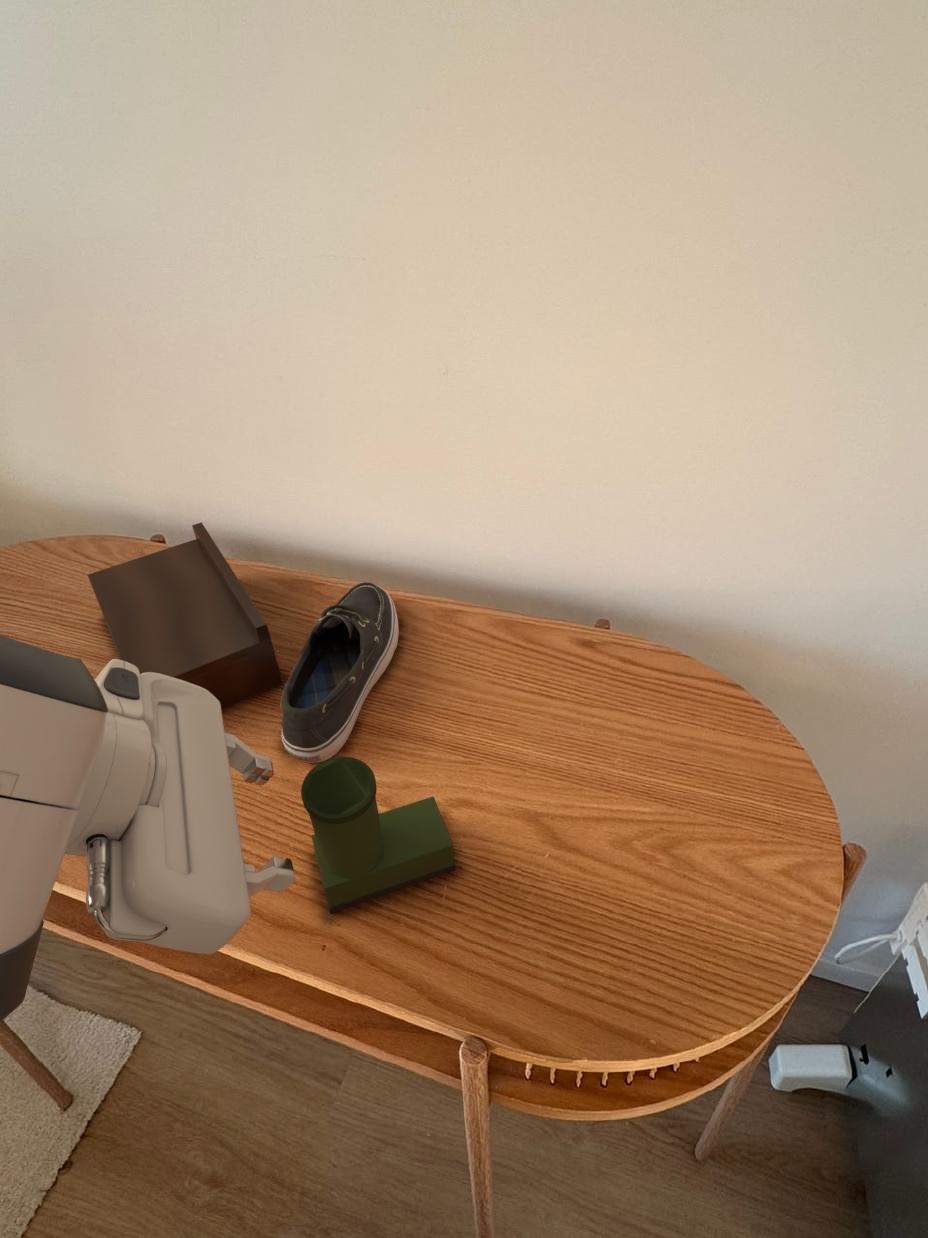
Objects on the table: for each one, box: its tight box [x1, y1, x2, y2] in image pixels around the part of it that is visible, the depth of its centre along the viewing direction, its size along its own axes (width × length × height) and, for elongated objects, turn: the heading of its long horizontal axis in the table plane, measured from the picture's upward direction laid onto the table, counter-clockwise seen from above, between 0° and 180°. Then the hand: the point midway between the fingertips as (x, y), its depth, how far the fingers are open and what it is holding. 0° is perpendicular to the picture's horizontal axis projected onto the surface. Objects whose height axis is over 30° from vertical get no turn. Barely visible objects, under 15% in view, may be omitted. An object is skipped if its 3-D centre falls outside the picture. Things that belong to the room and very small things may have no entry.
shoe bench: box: [87, 521, 284, 711], centre depth 82 cm, size 14×22×9 cm, turn 32°
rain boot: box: [300, 756, 457, 914], centre depth 60 cm, size 11×6×13 cm, turn 110°
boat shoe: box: [279, 582, 400, 764], centre depth 79 cm, size 26×9×8 cm, turn 165°
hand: (278, 820), depth 54 cm, fingers open, 8 cm apart
